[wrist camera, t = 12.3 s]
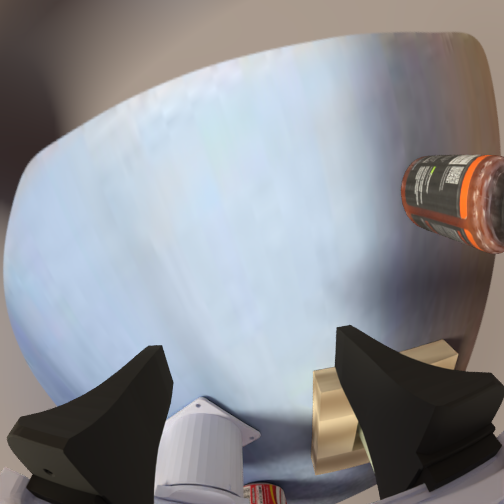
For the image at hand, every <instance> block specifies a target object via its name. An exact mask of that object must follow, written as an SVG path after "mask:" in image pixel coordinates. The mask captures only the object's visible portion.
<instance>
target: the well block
mask: <svg viewBox="0 0 504 504" xmlns="http://www.w3.org/2000/svg"><path fill="white" fill-rule="evenodd" d="M399 353H401V354H403V355H406V356H408V357H410V358H413V359H416V360H418V361H421V362H424V363H427V364H431V365H434V366H438V367H442V368H447V369H452V370H454V367H455V364H456V360H457V357H458V353H457V352H456V351H455V350H454V349H453V348H451V347H450V346H449V345H448V344H447V343H446V342H445V341H444V340H443V339H442V340H439V341H436V342H433V343H429V344H426V345H423V346H419V347H416V348H413V349H409V350H405V351H402V352H399ZM357 425H358V420H357V418H356V416H355V414H354V412H353V410H352V408H351V406H350V403H349V401H348V399H347V397H346V395H345V393H344V391H343V389H342V387H341V384H340V381H339V378H338V375H337V372H336V369H335V367H332V368H327V369H321V370H316V371H313V420H312V445H311V459H312V463H313V467H314V471H315V475H319V474H324V473H329V472H334V471H338V470H342V469H346V468H350V467H354V466H358V465H362V464H365V463H369V462H370V460H369V458H368V455H367V453H366V450H365V448H364V445H363V443H362V441H361V438H360V436H359V433H358V431H357Z"/></svg>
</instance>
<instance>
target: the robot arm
mask: <svg viewBox="0 0 504 504" xmlns="http://www.w3.org/2000/svg"><path fill="white" fill-rule="evenodd" d="M335 369H336V372H337V375H338V378H339V381H340V384H341V387H342V389H343V391H344V393H345V395H346V397H347V399H348V401H349V403H350V406H351V408H352V410H353V412H354V414H355V416H356V418H357V420H358V422H359V424H360V427H361V429H362V432H363V435H364V438H365V441H366V444H367V447H368V450H369V454H370V457H371V461H372V465H373V468H374V472H375V477H376V481H377V485H378V490H379V495H380V501H376V502H373V503H370V504H504V431H503V432H502V433H501V434H500V435H499V436H498V437H497V438H496V437H495V435H494V434H493V432H494V431H495V426H494V425H493V424H492V423H491V422H492V420H493V418H494V416H495V415H496V413H497V411H498V409H499V407H500V405H501V403H502V400H503V398H504V386H503V384H502V383H501V382H500V381H499V380H498V379H497V378H496V377H495V376H494V375H493V374H492V373H485V372H484V373H483V372H466V371H459V370H452V369H447V368H442V367H438V366H434V365H431V364H427V363H424V362H421V361H418V360H416V359H413V358H410V357H408V356H406V355H403V354H401V353H399V352H397V351H395V350H393V349H391V348H389V347H387V346H385V345H384V344H382V343H380V342H378V341H377V340H375V339H373V338H372V337H370V336H368V335H367V334H365V333H363V332H362V331H360V330H358V329H357V328H355V327H353V326H351V325H348V326H342V327H337V330H336V354H335ZM172 391H173V380H172V376H171V373H170V370H169V367H168V364H167V360H166V357H165V354H164V350H163V347H162V345H154V346H148V347H146V348H145V349H144V350H142V351H141V352H140V353H139V354H138V355H136V356H135V357H134V358H133V359H132V360H131V361H129V362H128V363H127V364H126V365H125V366H124V367H122V368H121V369H120V370H119V371H118V372H116V373H115V374H114V375H112V376H111V377H110V378H108V379H107V380H106V381H104V382H103V383H102V384H100V385H99V386H97V387H96V388H94V389H92V390H91V391H89V392H87V393H86V394H84V395H82V396H80V397H78V398H76V399H74V400H72V401H70V402H68V403H66V404H63V405H61V406H58V407H55V408H53V409H50V410H47V411H43V412H40V413H36V414H31V415H27V416H22V417H20V418H19V420H18V421H17V422H16V424H15V425H14V427H13V429H12V430H11V432H10V433H9V435H8V436H7V441H8V444H9V446H10V448H11V450H12V451H13V452H14V454H15V455H16V456H17V457H18V459H19V460H20V461H21V462H22V463H23V464H24V466H25V467H27V469H28V470H29V471H30V472H31V473H32V474H33V475H32V477H31V478H30V479H28V478H27V477H26V476H24V475H22V474H20V473H18V472H16V471H13V470H12V469H9V468H8V467H4V469H3V471H2V472H1V474H0V504H250V501H249V498H244V491H243V454H242V447H243V446H245V445H247V444H249V443H251V442H252V441H254V440H256V439H258V438H259V437H260V432H259V431H257V430H255V429H254V428H252V427H250V426H248V425H247V424H245V423H243V422H242V421H240V420H238V419H237V418H235V417H234V416H232V415H230V414H229V413H227V412H226V411H224V410H223V409H221V408H219V407H218V406H216V405H215V404H213V403H212V402H210V401H209V400H207V399H206V398H203V397H200V398H198V399H196V400H195V401H193V402H192V403H191V404H189V405H188V406H186V407H185V408H183V409H182V410H181V411H179V412H178V413H176V414H175V415H173V416H172V417H170V418H169V419H167V420H166V418H167V415H168V411H169V408H170V404H171V398H172ZM198 404H200V405H198Z"/></svg>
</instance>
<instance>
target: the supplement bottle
mask: <svg viewBox="0 0 504 504" xmlns="http://www.w3.org/2000/svg"><path fill="white" fill-rule="evenodd" d="M401 197H402V203H403V206H404V209H405V211H406V214H407V215H408V217H409V218H410V219H411V221H413V223H415V224H416V225H417V226H419V227H421V228H423V229H426V230H428V231H431V232H434V233H437V234H440V235H442V236H445V237H448V238H450V239H453V240H456V241H459V242H461V243H464V244H466V245H469V246H472V247H474V248H477V249H479V250H482V251H485V252H487V253H491V254H499V253H503V252H504V157H502V156H497V155H437V156H435V155H434V156H424V157H421V158H419V159H417V160H415V161H414V162H412V163H411V165H410V166H409V167H408V169H407V170H406V172H405V174H404V177H403V181H402V186H401Z"/></svg>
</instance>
